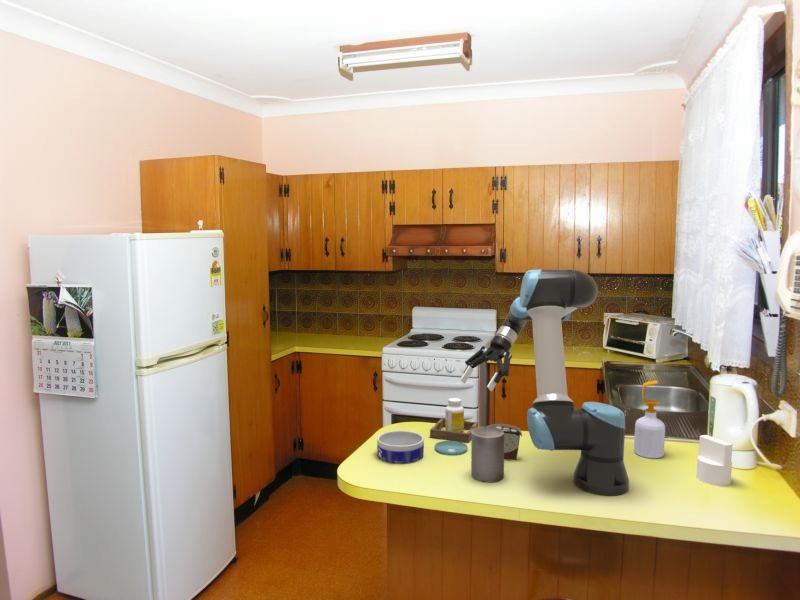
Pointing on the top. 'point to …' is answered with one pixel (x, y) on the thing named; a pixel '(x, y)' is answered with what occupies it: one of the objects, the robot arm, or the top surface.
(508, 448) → the food container
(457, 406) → the supplement bottle
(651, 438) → the soap bottle
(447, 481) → the top surface
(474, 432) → the pillar candle
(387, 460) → the dog bowl
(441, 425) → the square frame
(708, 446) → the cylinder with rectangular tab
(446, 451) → the coaster
